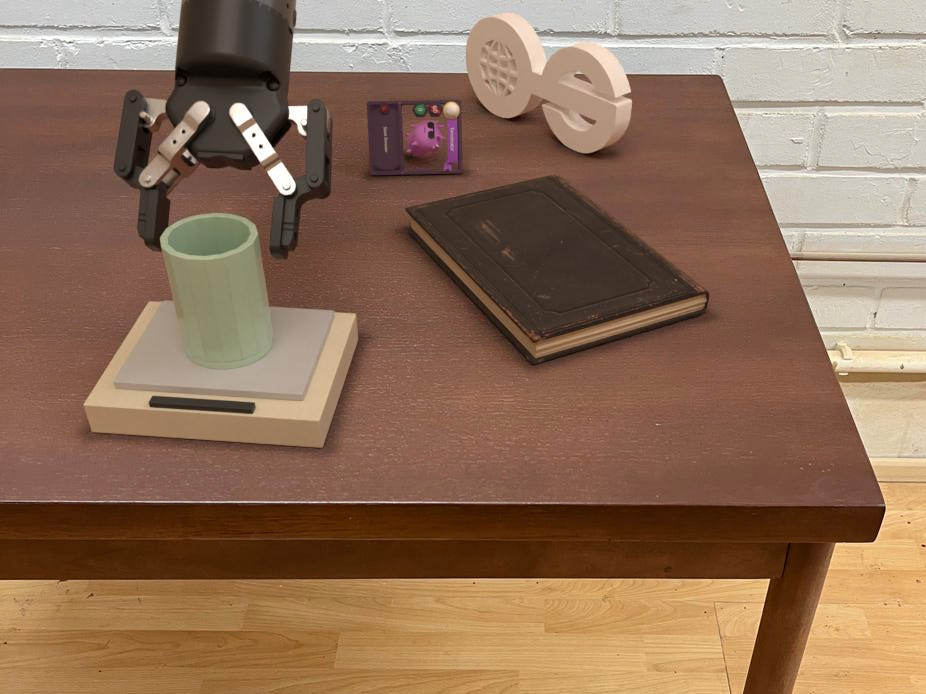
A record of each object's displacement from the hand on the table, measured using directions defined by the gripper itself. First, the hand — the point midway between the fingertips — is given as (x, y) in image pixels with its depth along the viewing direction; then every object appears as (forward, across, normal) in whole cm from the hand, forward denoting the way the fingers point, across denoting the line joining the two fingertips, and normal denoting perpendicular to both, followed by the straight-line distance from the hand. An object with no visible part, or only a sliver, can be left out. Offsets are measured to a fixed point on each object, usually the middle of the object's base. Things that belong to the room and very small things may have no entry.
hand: (216, 252), depth 68 cm
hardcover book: (-5, +22, +19) cm, 29 cm away
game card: (-18, +8, +32) cm, 38 cm away
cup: (+5, 0, +4) cm, 7 cm away
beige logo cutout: (-26, +20, +39) cm, 51 cm away
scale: (+8, 0, +6) cm, 10 cm away
